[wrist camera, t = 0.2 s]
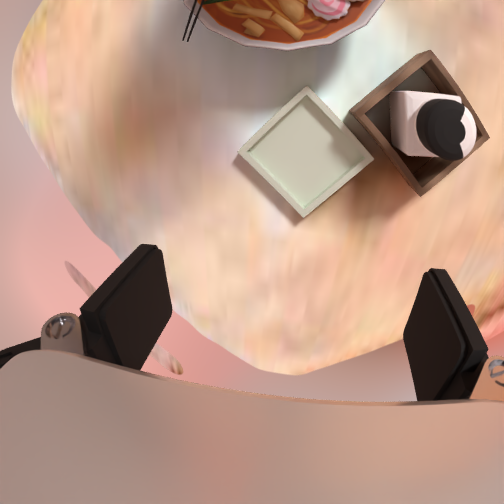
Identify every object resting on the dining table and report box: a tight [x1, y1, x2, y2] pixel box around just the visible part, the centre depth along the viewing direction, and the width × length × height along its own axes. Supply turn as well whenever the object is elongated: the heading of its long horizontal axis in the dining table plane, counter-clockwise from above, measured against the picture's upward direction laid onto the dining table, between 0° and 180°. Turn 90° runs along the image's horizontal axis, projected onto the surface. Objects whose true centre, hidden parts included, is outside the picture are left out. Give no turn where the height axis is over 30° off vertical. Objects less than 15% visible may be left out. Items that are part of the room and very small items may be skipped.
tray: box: [238, 86, 374, 218], centre depth 36 cm, size 12×12×2 cm
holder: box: [349, 50, 490, 197], centre depth 30 cm, size 13×13×5 cm
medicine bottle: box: [389, 91, 476, 161], centre depth 27 cm, size 7×7×12 cm
